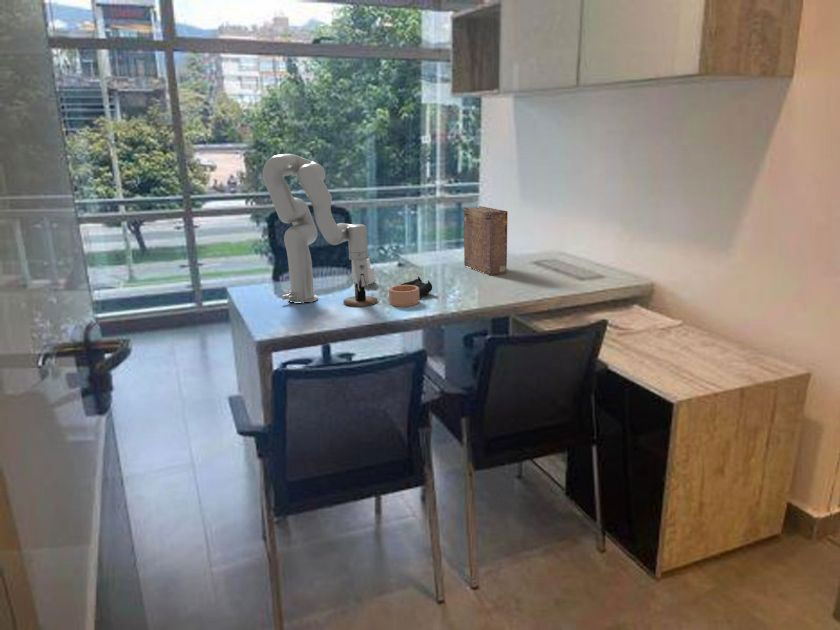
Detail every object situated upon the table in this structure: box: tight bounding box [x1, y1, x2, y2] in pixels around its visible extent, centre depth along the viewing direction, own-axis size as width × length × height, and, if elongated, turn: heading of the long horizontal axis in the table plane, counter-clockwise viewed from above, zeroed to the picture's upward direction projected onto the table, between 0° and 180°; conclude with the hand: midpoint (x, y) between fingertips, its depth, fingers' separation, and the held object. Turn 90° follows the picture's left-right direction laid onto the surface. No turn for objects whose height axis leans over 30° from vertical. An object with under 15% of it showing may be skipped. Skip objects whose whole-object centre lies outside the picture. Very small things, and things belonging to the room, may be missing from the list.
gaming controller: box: [400, 276, 433, 299], centre depth 269 cm, size 17×6×10 cm
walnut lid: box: [343, 287, 378, 308], centre depth 258 cm, size 14×14×6 cm
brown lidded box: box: [463, 205, 509, 276], centre depth 307 cm, size 25×9×30 cm, turn 26°
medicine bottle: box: [353, 257, 376, 286], centre depth 289 cm, size 7×7×12 cm
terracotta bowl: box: [388, 284, 420, 308], centre depth 255 cm, size 12×12×6 cm
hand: (360, 298), depth 258 cm, fingers closed on walnut lid, 4 cm apart
